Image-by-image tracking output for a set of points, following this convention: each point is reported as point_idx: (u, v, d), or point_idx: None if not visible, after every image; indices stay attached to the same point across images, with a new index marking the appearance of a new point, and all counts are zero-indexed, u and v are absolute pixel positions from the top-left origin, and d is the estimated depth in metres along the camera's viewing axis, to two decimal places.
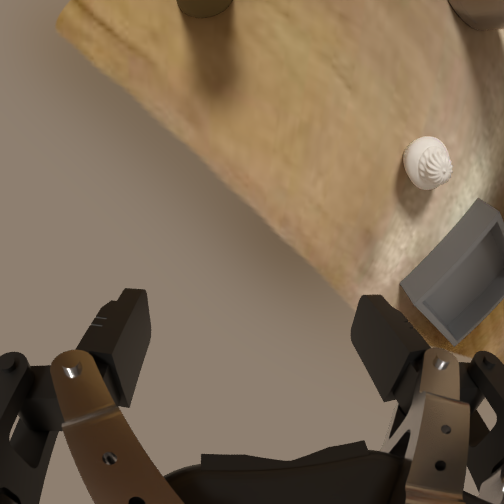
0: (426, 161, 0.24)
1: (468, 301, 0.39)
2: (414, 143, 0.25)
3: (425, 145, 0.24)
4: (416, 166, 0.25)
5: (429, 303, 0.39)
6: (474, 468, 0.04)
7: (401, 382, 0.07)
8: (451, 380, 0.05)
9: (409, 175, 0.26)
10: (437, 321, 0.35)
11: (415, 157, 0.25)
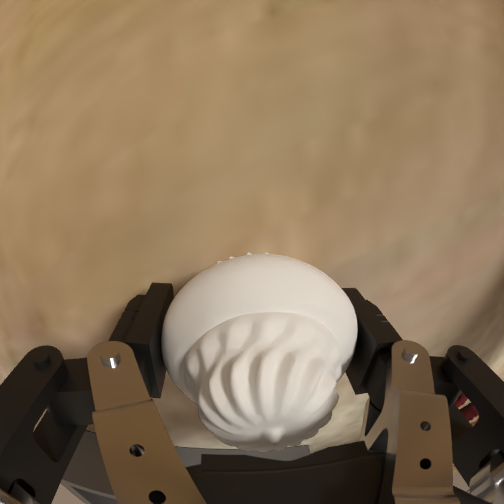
0: (244, 353, 0.06)
1: None
2: (273, 260, 0.07)
3: (302, 300, 0.07)
4: (199, 327, 0.07)
5: None
6: (459, 462, 0.05)
7: (371, 374, 0.08)
8: (419, 373, 0.06)
9: (164, 324, 0.08)
10: None
11: (225, 300, 0.07)
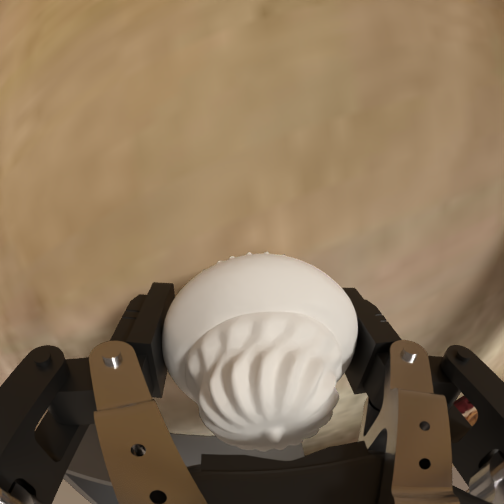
0: (245, 352, 0.06)
1: None
2: (274, 259, 0.07)
3: (302, 300, 0.07)
4: (199, 327, 0.07)
5: None
6: (459, 462, 0.05)
7: (370, 374, 0.08)
8: (417, 373, 0.06)
9: (164, 324, 0.08)
10: (90, 498, 0.14)
11: (225, 300, 0.07)
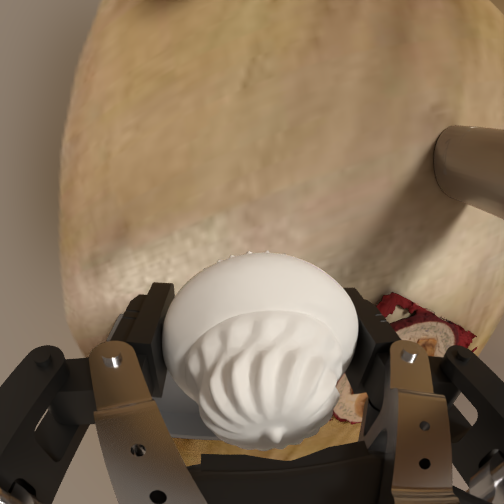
0: (245, 351, 0.06)
1: (185, 408, 0.36)
2: (274, 258, 0.07)
3: (302, 299, 0.07)
4: (200, 326, 0.07)
5: None
6: (459, 462, 0.05)
7: (370, 374, 0.08)
8: (417, 373, 0.06)
9: (165, 323, 0.08)
10: None
11: (226, 298, 0.07)
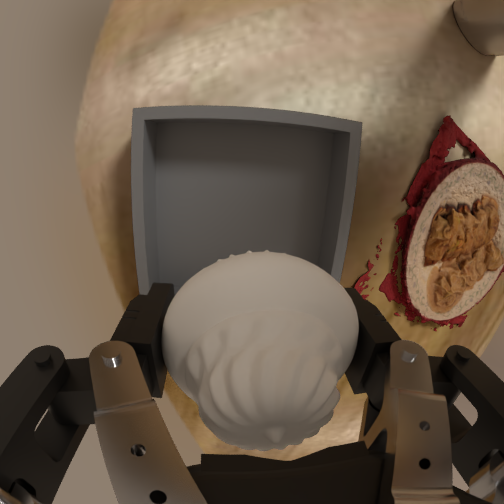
0: (245, 351, 0.06)
1: None
2: (274, 258, 0.07)
3: (303, 298, 0.07)
4: (199, 325, 0.07)
5: (158, 192, 0.25)
6: (458, 462, 0.05)
7: (370, 374, 0.08)
8: (417, 373, 0.06)
9: (164, 323, 0.08)
10: (140, 199, 0.21)
11: (225, 298, 0.07)
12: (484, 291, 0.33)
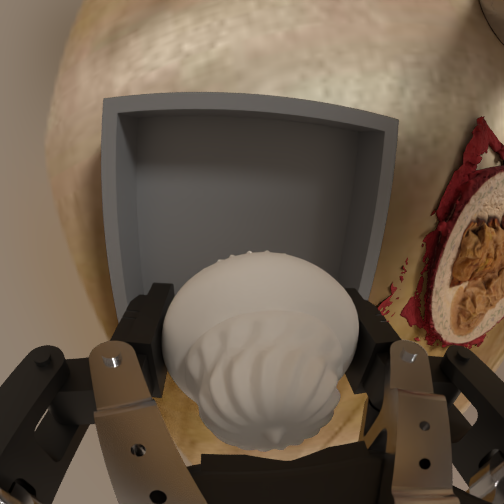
0: (245, 352, 0.06)
1: None
2: (275, 258, 0.07)
3: (303, 299, 0.07)
4: (199, 326, 0.07)
5: (140, 205, 0.20)
6: (459, 462, 0.05)
7: (370, 374, 0.08)
8: (417, 373, 0.06)
9: (164, 323, 0.08)
10: (114, 216, 0.16)
11: (226, 298, 0.07)
12: None
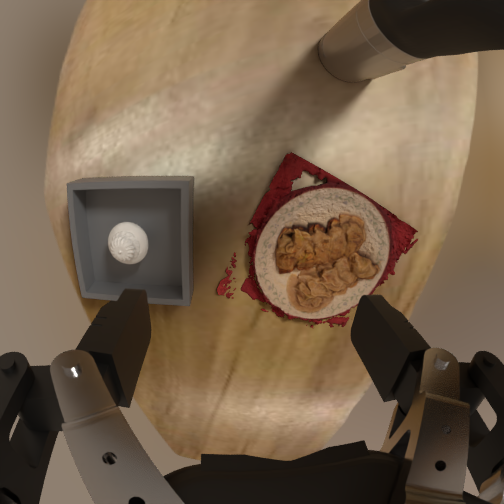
0: (117, 236, 0.35)
1: (125, 276, 0.43)
2: (127, 222, 0.36)
3: (129, 229, 0.36)
4: (113, 234, 0.35)
5: (89, 226, 0.39)
6: (474, 468, 0.04)
7: (401, 382, 0.07)
8: (451, 380, 0.05)
9: None
10: (75, 233, 0.35)
11: (117, 229, 0.35)
12: None
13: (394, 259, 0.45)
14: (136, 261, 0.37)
